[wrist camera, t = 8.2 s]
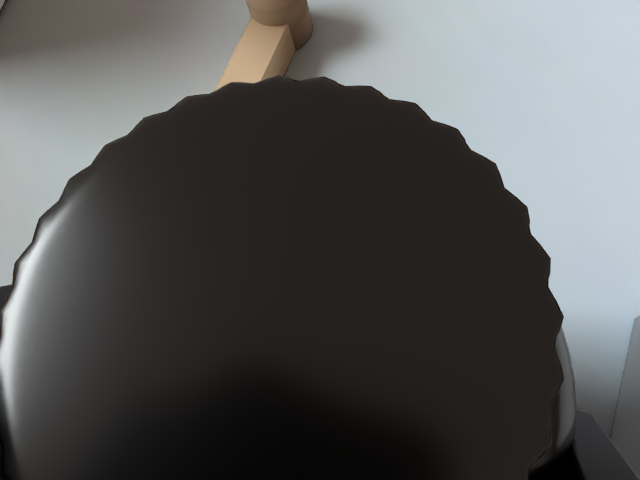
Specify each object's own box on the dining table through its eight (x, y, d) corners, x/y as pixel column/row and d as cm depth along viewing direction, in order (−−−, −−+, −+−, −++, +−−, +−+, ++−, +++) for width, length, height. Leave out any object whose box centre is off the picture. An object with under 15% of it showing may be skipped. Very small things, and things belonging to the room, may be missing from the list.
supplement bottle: (470, 287, 16) (596, -65, 5) (513, 549, 14) (924, 911, 3) (246, 309, 17) (-46, 42, 6) (247, 560, 15) (-250, 872, 4)
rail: (114, 467, 17) (71, 470, 15) (58, 441, 18) (8, 439, 16) (320, 14, 22) (310, -34, 20) (271, 5, 23) (256, -43, 21)
